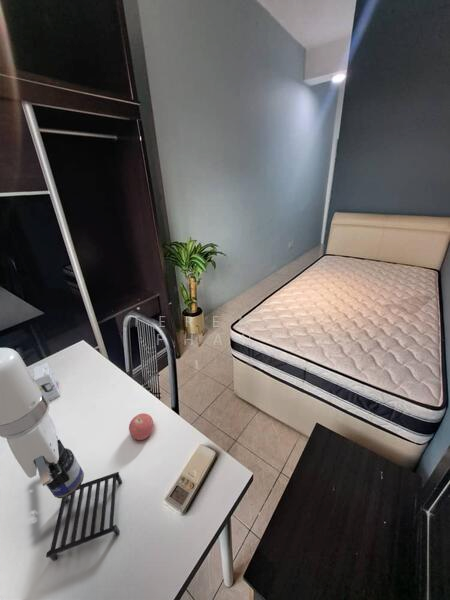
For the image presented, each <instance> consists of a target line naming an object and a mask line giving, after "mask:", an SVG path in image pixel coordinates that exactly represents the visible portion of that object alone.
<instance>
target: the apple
mask: <svg viewBox="0 0 450 600" xmlns="http://www.w3.org/2000/svg"><path fill="white" fill-rule="evenodd" d="M153 429H154V419H153V417H152V416H151V415H150V414H148V413H139V414H136V415H135V416H134V417H133V418H132V419H131V421H130V422H129V425H128V431H129V434H130V436H131V437H132V438H133V439H134V440H138V441H143V440H145V439H148V437H150V436H151V434H152V432H153Z"/></svg>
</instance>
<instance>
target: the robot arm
mask: <svg viewBox="0 0 450 600" xmlns="http://www.w3.org/2000/svg"><path fill="white" fill-rule="evenodd" d="M49 411H50V404H49V402H48V401H46V399H45V397H44V396H43V394H42V392H41V391H40V389H39V387H38V386H37V384H36V382H35V380H34V376H33V375H32V373H31V372H30V370H29V368H28V366H27V365H26V363H25V361H24V360H23V358H22V357H21V355H20V354H19V352H18V351H16V350H15V349H14V348H10V347H0V437H1V438H3V439H6V442H7V444H8V447H9V448H10V451H11V453H12V455H13V456H14V458H15V460H16V461H17V463H18V464H19V467H21V469H22V470H23V472H24V473H25V475H26V476H27V477H28V478H33V477H36V476H37V472H38V476H39V475H40V476H39V478H40V481H41V485H42V486H43V487H45V486H46V484H47V485H48V486H49V488H50V489H51V490H54V489H55V488H57V487H59V486H61V485H62V484H64V483H65V482H67V481H69V475H68V474H67V472H66V471H65V469H64V468H63V467H60V465H59V463H58V460H59V452H58V443H60V444H62V445H63V443H62V440H60V439H59V437H58V435H57V428H56V424H55V422H54V421H53V419H52V417H51V415H50V413H49ZM63 446H64V445H63ZM46 460H47V461H46ZM51 465H54V467H55V469H54V470H52V471H50V470H49V466H51ZM49 488H48V489H49Z"/></svg>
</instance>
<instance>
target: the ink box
mask: <svg viewBox="0 0 450 600" xmlns="http://www.w3.org/2000/svg"><path fill="white" fill-rule="evenodd" d="M32 369H33V379H34V380H35V382H36V384H37V386H38V387H39V389H40V391H41V392H42V394H43V396H44V397H45V399H46V401H47V402H49V401H52V400H54V399H57V398H58V397H59V398H60V396H61V394H60V390H59V386H58V382H57V380H56V378H55V376H54V373H53V372H52V369H51V367H50V365H49V363H48V362H45V363H42V364H40V365H38V366H35V367H33V368H32Z"/></svg>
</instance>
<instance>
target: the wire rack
mask: <svg viewBox="0 0 450 600" xmlns="http://www.w3.org/2000/svg"><path fill="white" fill-rule="evenodd" d="M111 479H112V484H111V485H112V486H111V498H110V510H109V525H108V527H107V528H105V526H106V525H105V524H106V513H107V501H108V490H109V481H110V480H111ZM103 482H104V485H103V495H102V505H101V515H100V525H99V531H98V532H96V524H97V518H98V517H97V516H98V507H99V501H100V491H101V483H103ZM117 483H118V485H122V484H123V479H122V477H121V475H120V472H119V471H117V472H116V471H115V472H113V473H111V474H109V475H108V474H107V475H105V476H102V477H98V478H96V479H92V480H91V481H86V482H84V483H81V485H80V487H79V488H78V489H77V490H76V491H75V492H74V493H73V494H72V495H70V496H68V497H65V498H61V501H60V506H59V510H58V515H57V520H56V523H55V528H54V532H53V536H52V541H51V545H50V549H49V550H48V551H46V553H45V554H46V555H45V557H46V558H49V559H51V560H52V561H53V562H54V561H56V560H58V558H59V557H58V556H59V554H60V553H63V552H65V551H67V550H71V549H72V548H75V547H78V546H80V545H83V544H85V543H89V542H91V541H93V540H96V539H98V538H101V537H103V536H105V535H108V534H110V533H114V535H115V536H120V532H121V530H120V529H119V527H118V525H117V524H114V521H115V506H116V493H117ZM93 485H96V487H95V494H94V502H93V510H92V515H91V516H92V518H91V525H90V531H89V535H87V536H86V534H87V533H86V532H87V527H88V526H87V525H88V519H89V512H90V506H91V498H92V491H93ZM85 488H87V493H86V500H85V506H84V513H83V520H82V526H81V531H80V538H79V539H77V533H78V528H79V521H80V515H81V509H82V503H83V497H84V490H85ZM77 491H79V493H78V498H77V502H76V503H77V504H76V509H75V515H74V520H73V527H72V532H71V537H70V542H69V543H67V539H68V533H69V529H70V523H71V518H72V512H73V508H74V502H75V496H76V492H77ZM66 504H68V507H67V513H66V518H65V522H64V527H63V531H62V537H61V541H60V546H59V547H57V543H58V538H59V534H60V529H61V525H62V520H63V514H64V511H65V507H66Z"/></svg>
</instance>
